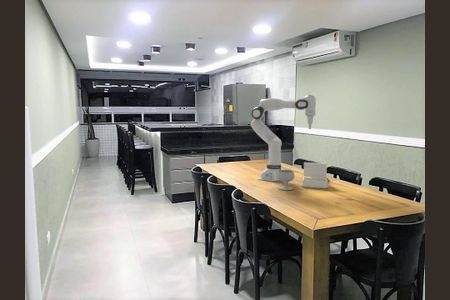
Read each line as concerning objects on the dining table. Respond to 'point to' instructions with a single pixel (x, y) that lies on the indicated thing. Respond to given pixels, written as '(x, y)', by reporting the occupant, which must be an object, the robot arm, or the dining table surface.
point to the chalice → (285, 178)
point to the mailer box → (315, 182)
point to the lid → (315, 169)
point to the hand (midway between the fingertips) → (309, 128)
